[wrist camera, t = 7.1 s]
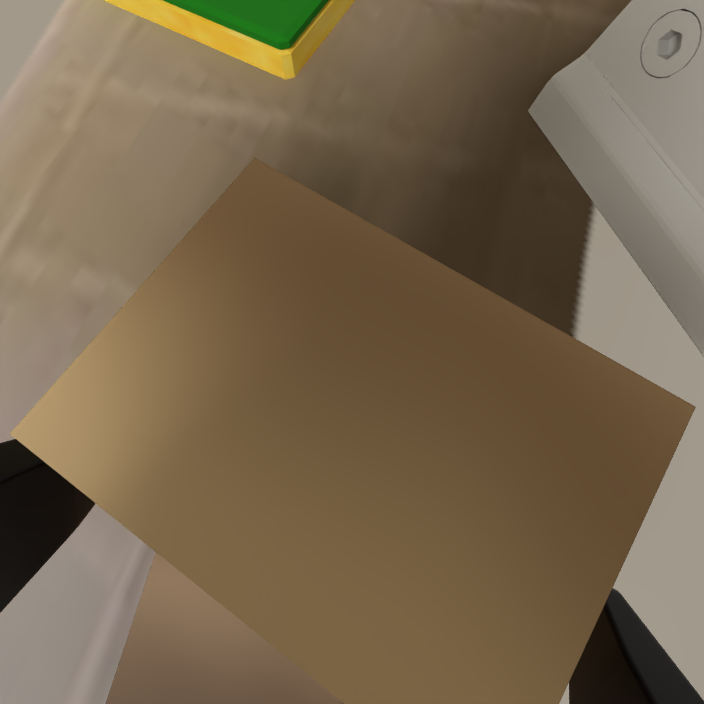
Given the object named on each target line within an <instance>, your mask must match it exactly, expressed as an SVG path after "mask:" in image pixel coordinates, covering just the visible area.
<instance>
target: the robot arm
mask: <svg viewBox="0 0 704 704" xmlns="http://www.w3.org/2000/svg"><path fill="white" fill-rule="evenodd" d="M94 505H95V502H94V501H92V500H91V499H90V498H89V497H87V496H86V495H85V494H84V493H82V492H81V491H80V490H79V489H77V488H76V487H75V486H74V485H72V484H71V483H70V482H69V481H67V480H66V479H65V478H64V477H63V476H61V475H60V474H59V473H58V472H56V471H55V470H54V469H53V468H51V467H50V466H49V465H48V464H46V463H45V462H44V461H43V460H41V459H40V458H39V457H38V456H36V455H35V454H34V453H33V452H32V451H30V450H29V449H28V448H27V447H25V446H24V445H23V444H22V443H20V442H19V441H18V440H17V439H14V440H10V441H6V442H3V443H0V612H1V611H2V610H3V609H4V608H5V607H6V606H7V605H8V604H9V603H10V601H11V600H12V599H13V598H14V597H15V596H16V595H17V594H18V593H19V592H20V590H21V589H22V588H23V587H24V586H25V585H26V584H27V583H28V582H29V580H30V579H31V578H32V577H33V576H34V575H35V574H36V573H37V572H38V571H39V569H40V568H41V567H42V566H43V565H44V564H45V563H46V562H47V561H48V560H49V558H50V557H51V556H52V555H53V554H54V553H55V552H56V551H57V550H58V549H59V547H60V546H61V545H62V544H63V543H64V542H65V541H66V540H67V539H68V537H69V536H70V535H71V534H72V533H73V532H74V531H75V529H76V528H77V527H78V526H79V525H80V523H81V522H82V521H83V519H84V518H85V517H86V516H87V514H88V513H89V512H90V510H91V509H92V508H93V506H94ZM569 704H704V700H703V699H702V698H701V697H700V695H699V694H698V693H697V691H696V690H695V689H694V688H693V686H692V685H691V684H690V683H689V681H688V680H687V679H686V677H685V676H684V675H683V673H682V672H681V671H680V670H679V669H678V667H677V666H676V664H675V663H674V662H673V661H672V659H671V658H670V657H669V656H668V654H667V653H666V652H665V650H664V649H663V648H662V646H661V645H660V644H659V643H658V641H657V640H656V639H655V637H654V636H653V635H652V634H651V632H650V631H649V630H648V629H647V627H646V626H645V624H644V623H643V622H642V621H641V619H640V618H639V617H638V616H637V614H636V613H635V612H634V610H633V609H632V608H631V606H630V605H629V604H628V603H627V601H626V600H625V599H624V597H623V596H622V595H621V594H620V593H619V592H618V591H617V590H615V589H613V588H612V590H611V592H610V594H609V596H608V598H607V600H606V603H605V605H604V607H603V609H602V611H601V613H600V616H599V618H598V620H597V622H596V624H595V627H594V629H593V631H592V633H591V635H590V637H589V640H588V642H587V644H586V646H585V648H584V650H583V653H582V655H581V657H580V659H579V661H578V663H577V666H576V668H575V670H574V672H573V674H572V676H571V679H570V681H569Z"/></svg>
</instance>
